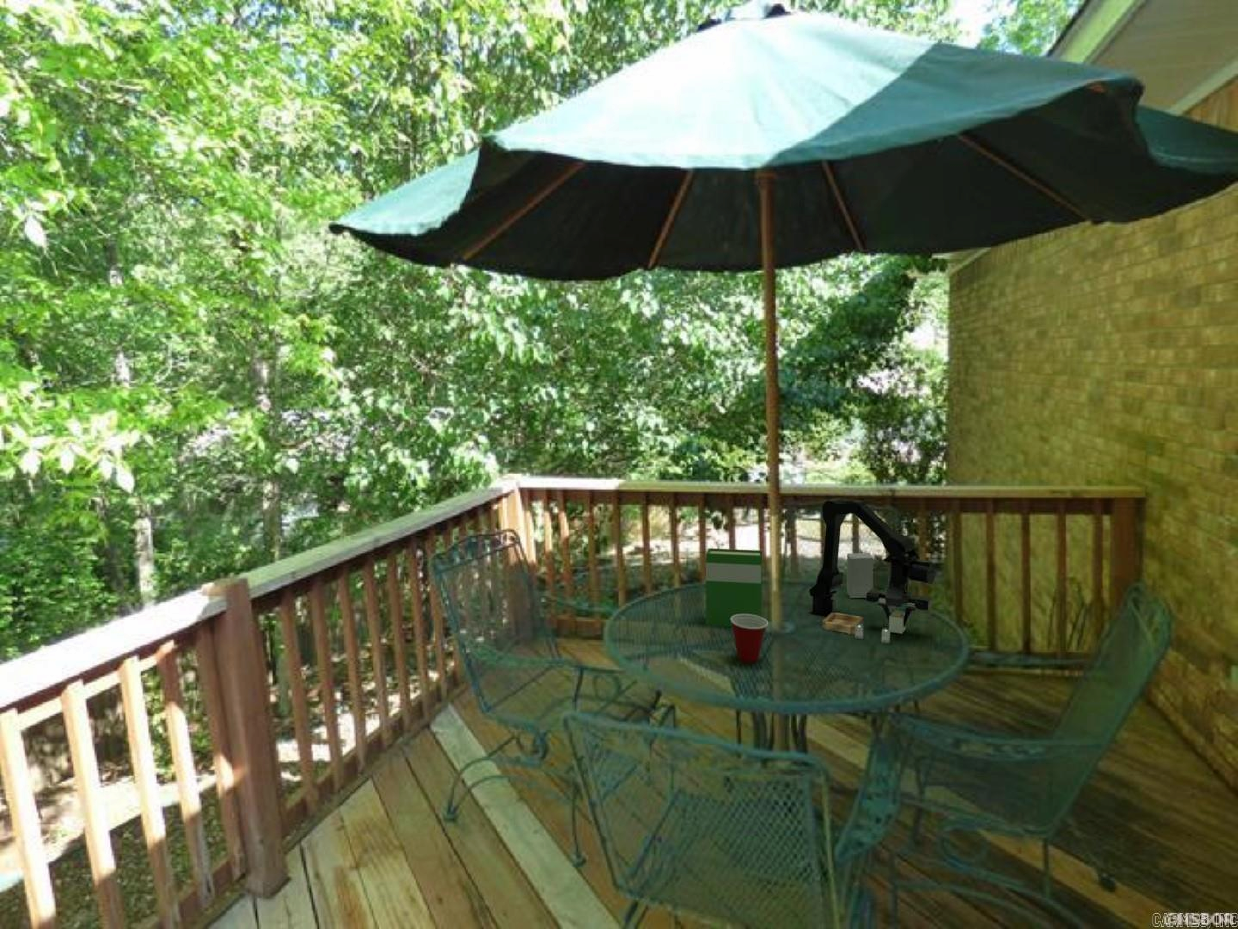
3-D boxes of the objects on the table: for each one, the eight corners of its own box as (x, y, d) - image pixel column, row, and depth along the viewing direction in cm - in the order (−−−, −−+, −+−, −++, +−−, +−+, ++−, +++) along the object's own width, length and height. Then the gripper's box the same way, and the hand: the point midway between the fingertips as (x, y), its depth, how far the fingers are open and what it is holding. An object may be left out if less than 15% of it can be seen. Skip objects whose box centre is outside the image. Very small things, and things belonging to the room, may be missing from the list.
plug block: (888, 631, 240) (889, 613, 239) (892, 626, 244) (893, 608, 243) (902, 633, 238) (902, 615, 237) (905, 629, 242) (906, 610, 241)
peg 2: (880, 642, 232) (881, 630, 231) (882, 640, 234) (882, 627, 233) (888, 644, 231) (889, 631, 230) (890, 641, 233) (891, 629, 232)
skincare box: (868, 594, 281) (870, 552, 279) (873, 600, 274) (874, 557, 271) (845, 593, 281) (846, 551, 279) (849, 599, 274) (850, 556, 272)
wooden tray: (821, 629, 244) (821, 622, 244) (832, 619, 254) (832, 612, 253) (854, 635, 238) (854, 627, 238) (863, 624, 248) (864, 617, 248)
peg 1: (854, 638, 236) (854, 625, 236) (856, 635, 238) (856, 623, 238) (861, 639, 235) (862, 627, 234) (863, 637, 237) (864, 624, 236)
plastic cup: (759, 669, 213) (760, 628, 211) (723, 661, 218) (724, 621, 217) (773, 656, 222) (774, 617, 220) (738, 649, 228) (739, 611, 226)
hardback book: (761, 621, 253) (762, 550, 250) (760, 628, 246) (761, 556, 243) (708, 617, 257) (708, 548, 253) (705, 625, 249) (706, 553, 246)
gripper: (862, 579, 237) (860, 627, 239) (925, 588, 227) (923, 638, 229) (871, 571, 246) (869, 617, 248) (932, 579, 236) (930, 627, 238)
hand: (897, 625), depth 241 cm, fingers closed on plug block, 4 cm apart
